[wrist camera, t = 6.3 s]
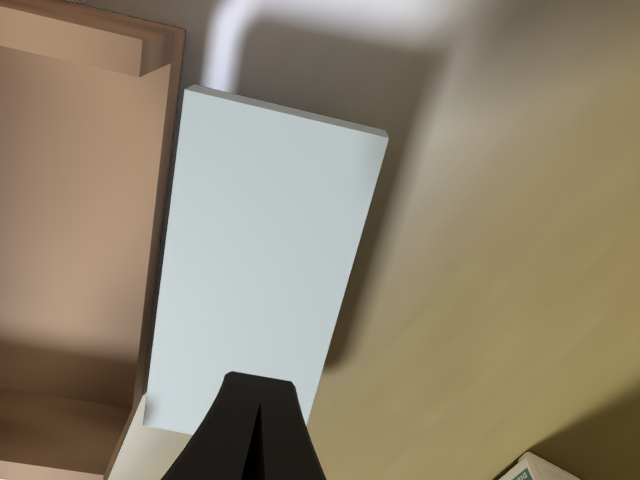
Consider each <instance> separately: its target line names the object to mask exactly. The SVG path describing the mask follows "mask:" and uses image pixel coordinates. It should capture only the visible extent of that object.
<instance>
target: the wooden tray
mask: <svg viewBox="0 0 640 480" xmlns="http://www.w3.org/2000/svg"><path fill="white" fill-rule="evenodd" d="M185 35H186V30H185V29H180V28H176V27H172V26H168V25H164V24H160V23H156V22H152V21H147V20H143V19H139V18H135V17H131V16H127V15H123V14H119V13H114V12H110V11H106V10H102V9H98V8H94V7H90V6H86V5H81V4H77V3H73V2H69V1H65V0H0V479H5V480H108V477H109V475H110V473H111V470H112V468H113V465H114V463H115V461H116V458H117V456H118V453H119V451H120V449H121V446H122V444H123V441H124V439H125V437H126V434H127V432H128V429H129V427H130V425H131V422H132V420H133V417H134V415H135V413H136V410H137V408H138V405H139V403H140V401H141V398H142V393H143V384H144V376H145V368H146V359H147V351H148V343H149V334H150V326H151V318H152V309H153V301H154V293H155V284H156V276H157V268H158V259H159V251H160V243H161V234H162V226H163V218H164V209H165V201H166V193H167V184H168V176H169V168H170V159H171V151H172V143H173V134H174V126H175V118H176V110H177V101H178V93H179V85H180V76H181V68H182V60H183V51H184V43H185Z"/></svg>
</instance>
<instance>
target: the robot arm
mask: <svg viewBox="0 0 640 480" xmlns="http://www.w3.org/2000/svg"><path fill="white" fill-rule="evenodd" d="M161 480H326V477H325V475H324V473H323V470H322V467H321V465H320V462H319V460H318V457H317V455H316V452H315V450H314V447H313V444H312V442H311V439H310V436H309V433H308V430H307V427H306V424H305V421H304V418H303V415H302V411H301V408H300V404H299V400H298V396H297V392H296V387H295V386H294V384H293V383H292V381H287V380H281V379H275V378H269V377H263V376H258V375H252V374H246V373H240V372H235V371H231V372H229V373H227V374H225V376H224V379H223V382H222V385H221V387H220V390H219V392H218V394H217V396H216V398H215V400H214V402H213V404H212V405H211V407H210V409H209V411H208V412H207V414H206V416H205V418H204V419H203V421H202V422H201V424H200V425H199V427H198V428H197V430H196V431H195V433H194V435H193V436H192V438H191V439H190V441H189V442H188V444H187V445H186V447H185V448H184V449H183V451H182V452H181V454H180V455H179V456H178V458H177V459H176V460H175V462H174V463H173V464H172V466H171V467H170V468H169V470H168V471H167V472H166V474H165V475H164V476H163V477H162V479H161Z"/></svg>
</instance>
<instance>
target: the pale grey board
mask: <svg viewBox="0 0 640 480" xmlns="http://www.w3.org/2000/svg"><path fill="white" fill-rule="evenodd" d="M388 141H389V136H388V134H387V132H386V130H383V129H379V128H374V127H370V126H366V125H362V124H358V123H353V122H349V121H345V120H341V119H337V118H333V117H328V116H324V115H320V114H316V113H312V112H307V111H303V110H299V109H295V108H291V107H287V106H282V105H278V104H274V103H270V102H266V101H261V100H257V99H253V98H249V97H245V96H241V95H236V94H232V93H228V92H224V91H220V90H215V89H211V88H207V87H203V86H199V85H195V84H193V85H192V86H190V87H188V88H186V89H185V90H184V98H183V106H182V114H181V122H180V130H179V138H178V146H177V154H176V162H175V170H174V178H173V187H172V195H171V203H170V211H169V219H168V227H167V235H166V243H165V251H164V259H163V267H162V275H161V283H160V291H159V299H158V307H157V315H156V323H155V331H154V339H153V347H152V355H151V363H150V371H149V379H148V387H147V396H146V404H145V412H144V420H143V425H144V426H149V427H155V428H160V429H165V430H171V431H176V432H181V433H186V434H192V435H194V433H195V431H196V430H197V428H198V427H199V425H200V424H201V422H202V421H203V419H204V418H205V416H206V414H207V412H208V411H209V409H210V407H211V405H212V404H213V402H214V400H215V398H216V396H217V394H218V392H219V390H220V387H221V385H222V382H223V379H224V376H225V374H227V373H229V372H231V371H235V372H240V373H246V374H252V375H258V376H263V377H269V378H275V379H281V380H287V381H292V383H293V384H294V386H295V387H296V392H297V396H298V400H299V404H300V408H301V411H302V415H303V418H304V421H305V424H306V425H307V421H308V418H309V414H310V411H311V407H312V404H313V401H314V397H315V394H316V390H317V387H318V383H319V380H320V376H321V373H322V369H323V366H324V362H325V359H326V356H327V352H328V349H329V345H330V342H331V338H332V335H333V331H334V328H335V324H336V321H337V317H338V314H339V310H340V307H341V304H342V300H343V297H344V293H345V290H346V286H347V283H348V279H349V276H350V272H351V269H352V265H353V262H354V259H355V255H356V252H357V248H358V245H359V241H360V238H361V234H362V231H363V227H364V224H365V220H366V217H367V213H368V210H369V207H370V203H371V200H372V196H373V193H374V189H375V186H376V182H377V179H378V175H379V172H380V168H381V165H382V162H383V158H384V155H385V151H386V148H387V144H388Z"/></svg>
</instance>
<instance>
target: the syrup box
mask: <svg viewBox="0 0 640 480" xmlns="http://www.w3.org/2000/svg"><path fill="white" fill-rule="evenodd" d="M499 480H581V479H579V478H577V477H575V476H574V475H572V474H570V473H568V472H566V471H564V470H563V469H561V468H559V467H557V466H555V465H553V464H551V463H550V462H548V461H546V460H544V459H542V458H540V457H538V456H536V455H534V454H533V453H531V452H526V453H525V454H524V455H523V456H521V457H520V458H519V460H518V463H517V464H516V465H515V466H514V467H513V468H512V469H510V470H509V471H508V472H507V473H506V474H505V475H504V476H502V477H501V478H500V479H499Z"/></svg>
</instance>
